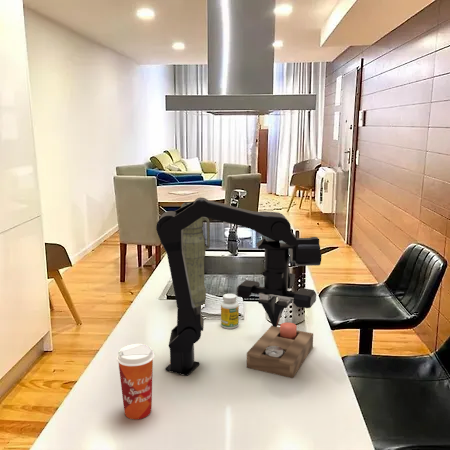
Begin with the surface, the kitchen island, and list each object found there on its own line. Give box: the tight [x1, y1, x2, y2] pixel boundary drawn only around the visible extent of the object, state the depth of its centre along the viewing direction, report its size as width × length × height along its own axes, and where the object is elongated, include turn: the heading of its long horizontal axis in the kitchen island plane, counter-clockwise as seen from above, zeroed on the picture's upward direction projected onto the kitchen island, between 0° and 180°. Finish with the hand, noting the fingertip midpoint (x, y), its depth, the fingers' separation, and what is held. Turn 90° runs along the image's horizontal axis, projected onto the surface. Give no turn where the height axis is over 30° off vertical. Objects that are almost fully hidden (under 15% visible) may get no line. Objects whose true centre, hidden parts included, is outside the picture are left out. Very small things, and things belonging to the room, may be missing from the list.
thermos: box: [180, 201, 211, 307], centre depth 155 cm, size 9×12×35 cm
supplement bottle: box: [220, 293, 240, 330], centre depth 142 cm, size 5×5×10 cm
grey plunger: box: [264, 346, 284, 358], centre depth 118 cm, size 4×4×3 cm
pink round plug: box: [279, 321, 298, 340], centre depth 128 cm, size 4×4×3 cm
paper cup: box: [116, 343, 156, 420], centre depth 99 cm, size 8×8×14 cm
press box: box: [246, 325, 314, 379], centre depth 123 cm, size 18×12×4 cm, turn 154°
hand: (275, 326), depth 117 cm, fingers closed
